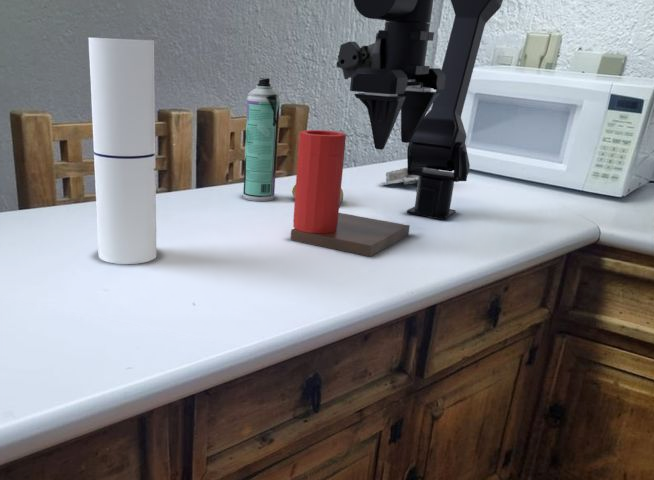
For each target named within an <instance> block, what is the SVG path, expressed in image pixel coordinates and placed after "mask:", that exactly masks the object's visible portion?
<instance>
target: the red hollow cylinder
mask: <svg viewBox="0 0 654 480" xmlns="http://www.w3.org/2000/svg"><path fill="white" fill-rule="evenodd" d="M346 140H347V134H346V133H345V132H340V131H333V130H324V129H323V130H319V129H308V130H307V129H305V130H300V131H299V138H298V151H297V162H296V164H297V165H296V179H295V185H296V191H295V198H294V206H293V208H294V209H293V221H292V222H293V223H292V225H293V229H294V228H295V229H297V230H299V231H302V232H307V233H320V234H321V233H331V232H334V231H336V230H337V224H338V214H339V213H340V204H341V203H340V193H341V189H342V183H343V181H342V180H343V170H344V160H345V151H346Z"/></svg>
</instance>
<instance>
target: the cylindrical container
mask: <svg viewBox="0 0 654 480" xmlns="http://www.w3.org/2000/svg"><path fill="white" fill-rule="evenodd" d="M88 57H89V58H88V59H89V76H90V79H89V80H90V94H91V95H90V98H91V99H90V100H91V101H90V102H91V120H92V142H93V143H92V144H93V163H94V164H93V165H94V166H93V167H94V184H95V204H96V205H95V206H96V227H97V228H96V229H97V249H98V250H97V251H98V258H99V259H100V260H102V261H104V262H107V263H111V264H117V265H136V264H143V263H147V262H151V261H153V260H155V259H156V257H157V179H156V177H157V174H156V171H157V170H156V168H157V167H156V166H157V165H156V164H157V163H156V95H155V94H156V93H155V92H156V89H155V87H156V86H155V40H154V39H131V38H108V37H107V38H104V37H88Z"/></svg>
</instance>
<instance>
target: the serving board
mask: <svg viewBox="0 0 654 480" xmlns="http://www.w3.org/2000/svg"><path fill="white" fill-rule="evenodd" d="M409 232H410V225H409V224H404V223H399V222H392V221H387V220H381V219H377V218H370V217H365V216H360V215H353V214H349V213H343V212H339V214H338V224H337V230H336V231H334V232H331V233H321V234H320V233H307V232H302V231H299V230H297V229H295V228H294V227H293V228H292V229H291V231H290V241H295V242H299V243H304V244H309V245H313V246H318V247H322V248H327V249H331V250H337V251H341V252H346V253H351V254H354V255H360V256H363V257H369V258H371V257H373V256H374V255H376V254H378V253H379V252H382V251H383V250H385V249H386V248H388V247H390V246H392V245H393V244H395V243H397V242H399V241H401V240H403V239H404V238H406V237H409Z"/></svg>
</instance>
